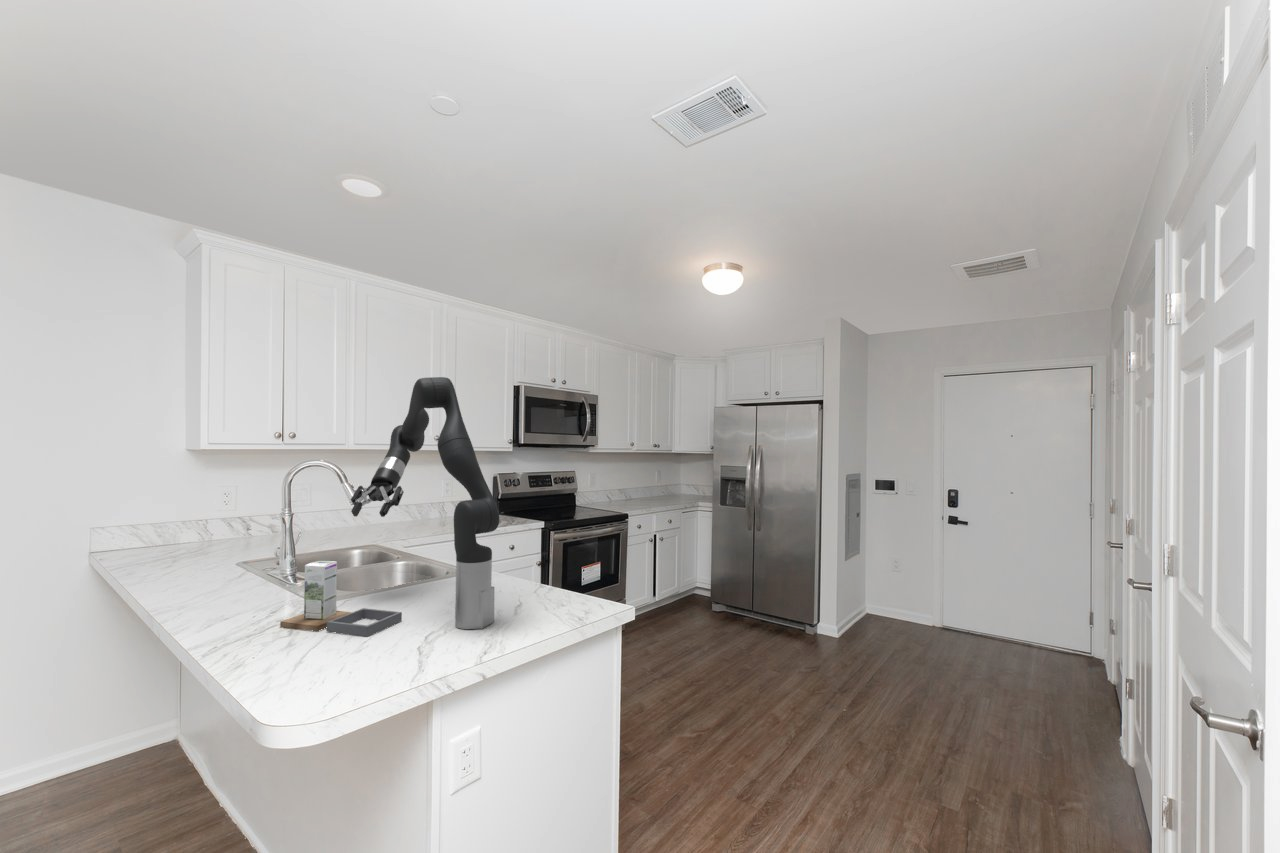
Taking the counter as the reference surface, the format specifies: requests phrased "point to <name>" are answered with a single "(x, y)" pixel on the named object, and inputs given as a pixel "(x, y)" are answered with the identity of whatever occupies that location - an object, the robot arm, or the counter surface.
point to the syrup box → (320, 590)
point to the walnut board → (309, 622)
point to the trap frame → (346, 627)
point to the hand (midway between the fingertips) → (367, 515)
